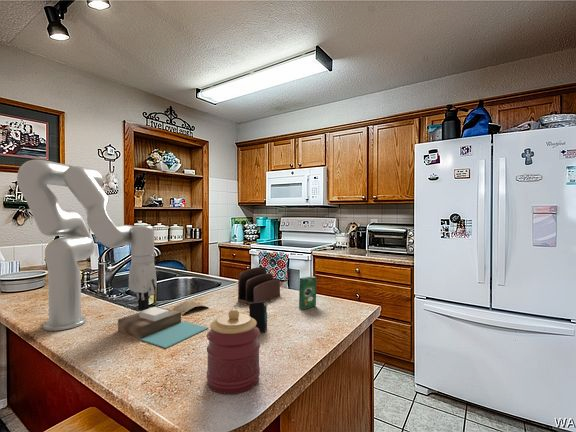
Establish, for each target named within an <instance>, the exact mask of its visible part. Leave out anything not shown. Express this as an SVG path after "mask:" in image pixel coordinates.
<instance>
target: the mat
mask: <svg viewBox="0 0 576 432" xmlns="http://www.w3.org/2000/svg"><path fill="white" fill-rule="evenodd" d="M208 329H209V327H207V326H203V325H200V324H196V323H193V322H188V321H185V320H184V321H181V323H179V324H176V325H174V326H171V327H169V328H166V329H164V330H161V331H159V332H157V333H154V334H152V335H149V336H147V337H144V338H142V339H141V338H139V339H140V341H141V342H145V343H147V344H151V345H154V346H157V347H159V348H163V349H165V350H166V349H168V348H171V347H172V346H175V345H176V344H179V343H181V342H183V341H185V340H187V339H189V338H191V337H194V336H196V335H198V334H200V333H202V332H204V331H206V330H208Z"/></svg>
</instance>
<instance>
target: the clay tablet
mask: <svg viewBox="0 0 576 432" xmlns="http://www.w3.org/2000/svg"><path fill="white" fill-rule="evenodd" d="M195 307H197V308H198V307H205V308H207V306H206V305H203V304H201V303H199V302H196V301H184V302H181V303H178V304H177V305H175V306H174V307H173V308H172V309H171V310H174V311H178V312H181V315H182V316H184V314H185V313H186V312H189V311H190V310H192V309H194V308H195Z"/></svg>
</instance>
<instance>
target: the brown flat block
mask: <svg viewBox="0 0 576 432" xmlns="http://www.w3.org/2000/svg"><path fill="white" fill-rule="evenodd" d="M155 307H156V308H161V309H165V310H169V316H168V317H165V318H163V319H160V320H157V321H151V320H147V319H144V318H140V317H139V312H136V313H133V314H130V315H127V316H125V317H121V318H118V319H117V331H118V332H121V333H122V334H123V333H124V334H127V335H129V336H133V337H136V338H138V339H142V338H144V337H147V336H149V335H152V334H154V333H157V332H159V331H161V330H164V329H166V328H169V327H171V326H174V325H176V324H179V323H181V322H182V316H181V312H178V311H174V310H172V309H169V308H164V307H161V306H155Z"/></svg>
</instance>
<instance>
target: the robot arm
mask: <svg viewBox="0 0 576 432" xmlns="http://www.w3.org/2000/svg"><path fill="white" fill-rule="evenodd" d="M16 175H17V176H16V182H17V186H18V188H19V191H20V193H21V194H22V197H23V198H24V200H25V201H26V204H27V206H28V208H29V211H30V213H31V215H32V217H33V219H34V222H35V223H36V226H37V228H38V230H39V232H40V233H41V234H42V235H44V236H47V237H57V236H62V237H59V238H56V239H53V240H52V241H50V242H48V243H47V245H46V247H45V248H44V259H45V263H46V266H47V277H48V278H47V279H48V281H47V282H48V321H46V322H45V323H43V330H45V331H49V332H50V331H52V332H53V331H54V332H55V331H56V332H57V331H64V330H68V329H74V328H77V327H79V326H82V325H83V324H85V323H86V322H87V316H84V315H82V284H81V283H82V279H81V278H82V273H81V270H80V267H79V265H78V262H79V261H84V260H87V259H88V258H90V257H92V255H93V254H94V251H95V244H94V240H93V238H92V235H91V233H90V231H91V232H92V233H93V235H94V236H95V238H96V239H97V240H98V242H100V243H101V244H102V245H103V246H105V247H107V248H110V249H115V248H119V247H124V246H131V247H130V248H131V249H130V250H131V261H130V262H131V263H130V266H129V272H128V290H130V291H131V292H133V294H136V299H137V311H139V312H140V311H143V310H146V309H149V308H150V305H149V304H150V298H151V296H154V295H156V294H155V290H157V282H158V281H157V270H156V266H155V265H156V264H155V229H154V227H153V226H152V225H129V224H119V225H115V223H114V222H113V220H112V219H110V217H109V214H108V213H107V210H106V207H107V205H108V203H109V202H110V198H109V196H108V195H107V193H106V192H105V191H104V190H103V188H102V186H103V184H104V179H103V177H102V176H103V175H101V174H100V172H99V171H98V170H96V169H93V168H88V167H84V166H77V165H76V166H75V165H71V164H65V163H60V162H57V161H56V162H55V161H50V160H45V159H31V160H27V161H26V162H24V163H22V164H21V166H20V167H19V168H18V171H17V174H16ZM48 185H51V186H59V187H60V186H61V187H67V188H68V189H69V190H70V192H71V193H72V194H73V196H74V197H75V198H76V200H77V202H79V204H80V205H81V206H82V208H83V209H84V210H85V217H86V221H87V223H86V221H85V220H84V218H83V217H82V215H80V214H79V213H78V212H76V211H74V210H71V209H70V210H69V209H63V208H62V207H61V205H60V203H59V201H58V198H57V196H56V194H54V192H53V191H52V190H51V189H50V188H49V186H48ZM87 225H88V227H87ZM88 228H89V229H88ZM89 230H90V231H89Z"/></svg>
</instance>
